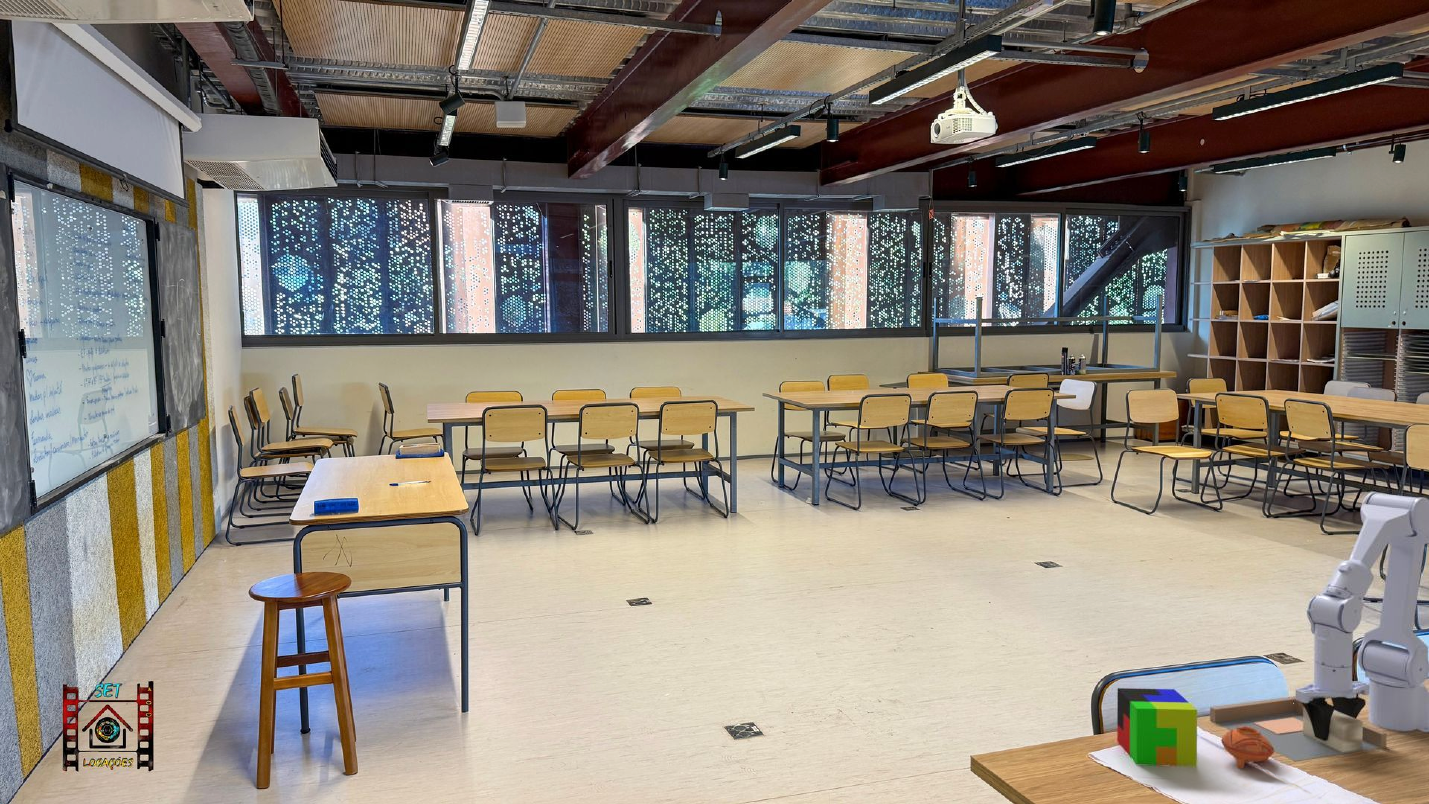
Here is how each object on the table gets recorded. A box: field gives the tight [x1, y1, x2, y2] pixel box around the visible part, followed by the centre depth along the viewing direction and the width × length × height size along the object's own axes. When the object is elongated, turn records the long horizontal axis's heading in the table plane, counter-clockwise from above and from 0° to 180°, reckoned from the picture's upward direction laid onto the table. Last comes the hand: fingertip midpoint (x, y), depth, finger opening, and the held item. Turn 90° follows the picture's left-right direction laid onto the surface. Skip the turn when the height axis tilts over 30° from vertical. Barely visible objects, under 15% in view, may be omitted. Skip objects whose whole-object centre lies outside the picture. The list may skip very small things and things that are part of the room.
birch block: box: [1303, 708, 1364, 752], centre depth 167 cm, size 4×8×5 cm, turn 15°
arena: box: [1209, 695, 1388, 762], centre depth 171 cm, size 20×19×3 cm
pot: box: [1220, 726, 1275, 770], centre depth 160 cm, size 8×8×7 cm
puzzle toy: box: [1116, 687, 1198, 767], centre depth 165 cm, size 10×10×10 cm
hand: (1332, 737), depth 167 cm, fingers closed on birch block, 4 cm apart
